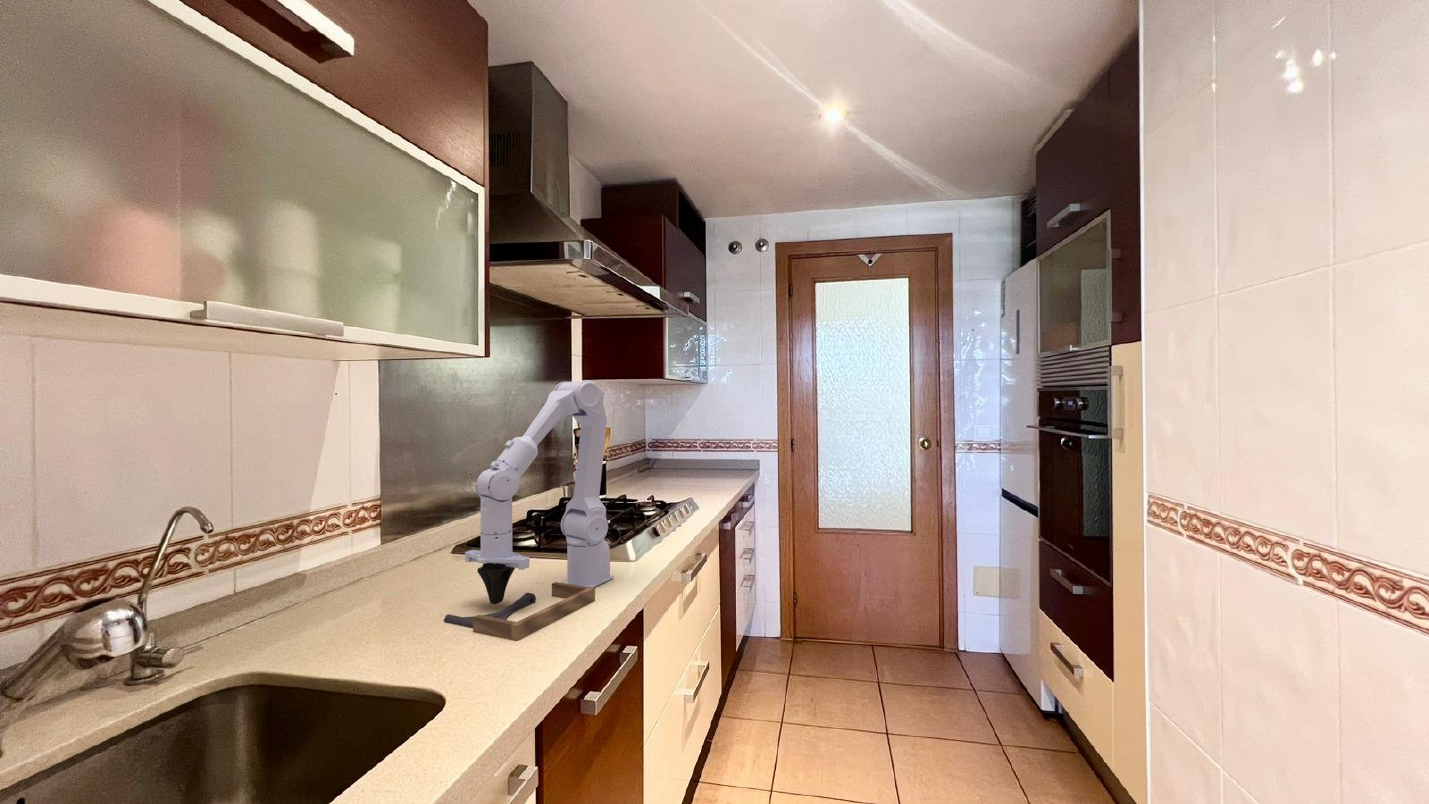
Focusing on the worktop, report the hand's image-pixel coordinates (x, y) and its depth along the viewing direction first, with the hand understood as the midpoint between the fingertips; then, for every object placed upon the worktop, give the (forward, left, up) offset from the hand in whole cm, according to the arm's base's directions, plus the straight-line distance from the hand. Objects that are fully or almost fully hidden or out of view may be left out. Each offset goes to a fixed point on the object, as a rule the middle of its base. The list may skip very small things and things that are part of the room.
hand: (496, 602), depth 110 cm
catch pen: (0, +10, -1) cm, 10 cm away
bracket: (+2, +4, -2) cm, 5 cm away
